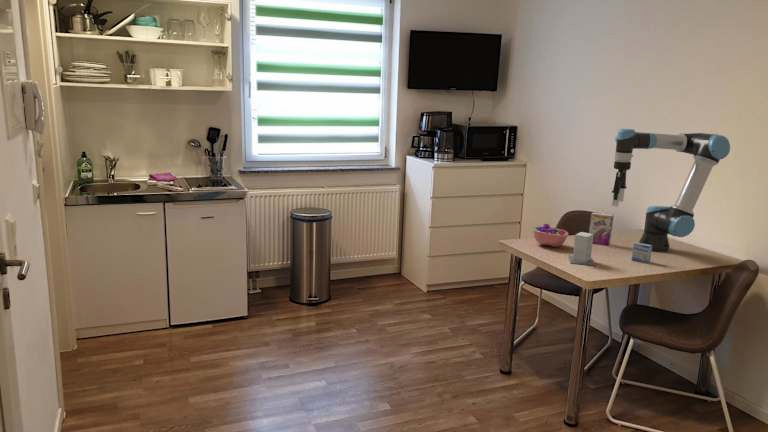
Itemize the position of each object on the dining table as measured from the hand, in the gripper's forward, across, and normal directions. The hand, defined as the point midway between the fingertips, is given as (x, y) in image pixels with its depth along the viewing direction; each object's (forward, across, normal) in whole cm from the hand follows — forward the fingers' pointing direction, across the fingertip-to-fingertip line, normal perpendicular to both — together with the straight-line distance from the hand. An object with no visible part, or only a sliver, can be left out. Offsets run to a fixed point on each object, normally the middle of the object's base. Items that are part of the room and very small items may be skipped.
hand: (617, 203), depth 281 cm
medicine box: (+27, 0, -14) cm, 31 cm away
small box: (+26, -20, +10) cm, 34 cm away
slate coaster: (+26, -20, +10) cm, 35 cm away
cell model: (+27, -1, +31) cm, 42 cm away
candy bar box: (+28, +23, +11) cm, 38 cm away
